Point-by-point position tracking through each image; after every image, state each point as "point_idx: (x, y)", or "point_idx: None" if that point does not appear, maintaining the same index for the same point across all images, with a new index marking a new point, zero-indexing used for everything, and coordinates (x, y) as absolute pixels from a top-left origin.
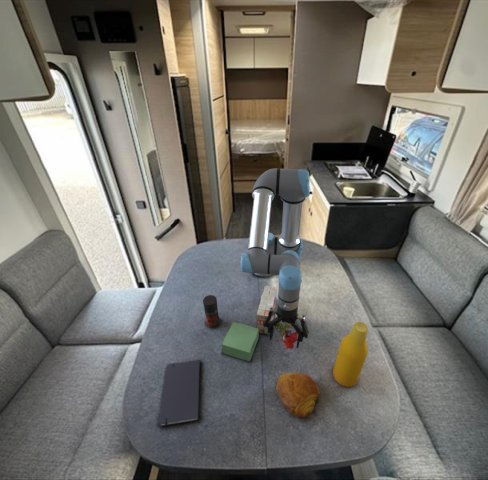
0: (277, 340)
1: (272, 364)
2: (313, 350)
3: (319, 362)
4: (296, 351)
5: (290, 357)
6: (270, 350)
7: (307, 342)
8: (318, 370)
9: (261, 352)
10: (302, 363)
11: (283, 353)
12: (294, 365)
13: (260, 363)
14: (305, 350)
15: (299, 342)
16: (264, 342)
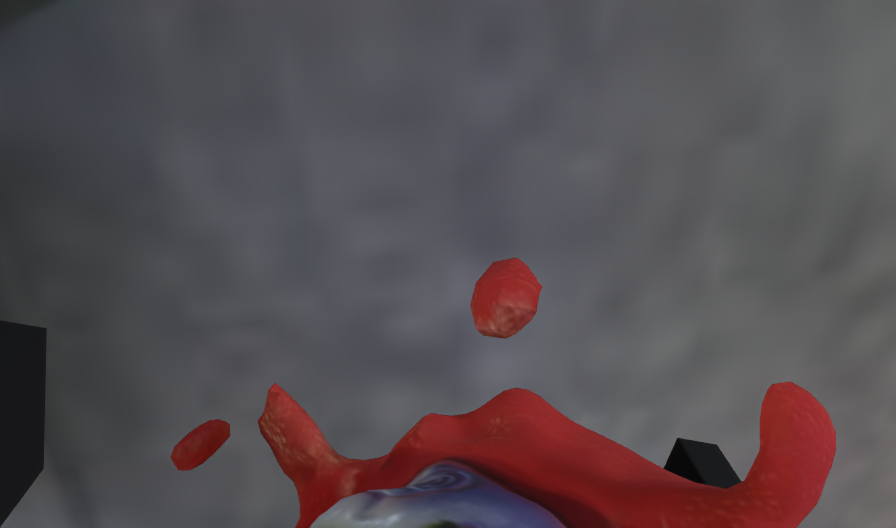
0: (196, 447)
1: (232, 510)
2: (862, 250)
3: (883, 418)
4: (587, 294)
5: (486, 394)
6: (161, 319)
7: (809, 107)
8: (831, 512)
9: None
10: (647, 454)
11: (379, 346)
12: None
13: (59, 516)
14: (735, 263)
15: (717, 455)
16: (15, 181)
